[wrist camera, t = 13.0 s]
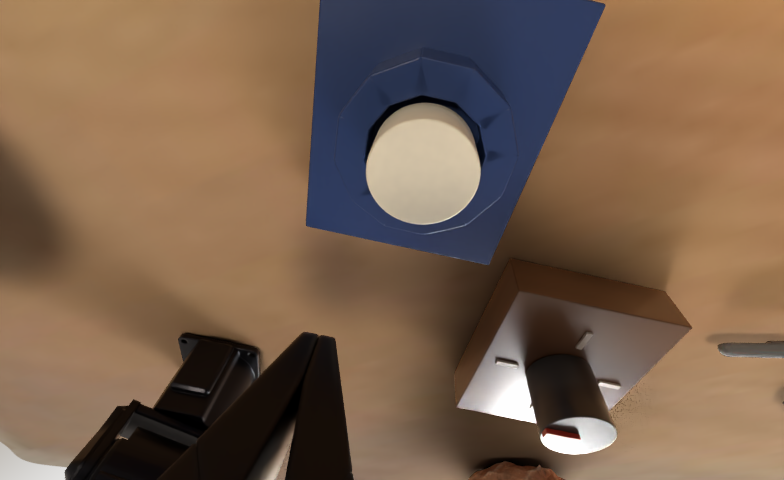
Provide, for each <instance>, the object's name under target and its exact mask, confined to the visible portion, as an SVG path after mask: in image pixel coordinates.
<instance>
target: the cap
mask: <svg viewBox="0 0 784 480" xmlns="http://www.w3.org/2000/svg"><path fill="white" fill-rule="evenodd" d="M480 175H481V167H480V160H479V156H478V152H477V148H476V144H475V140H474V137H473V134H472V132H471V130H470V128H469V126H468V125H467V123H466V122H465V121H464V120H463V118H462V117H461V116H459V115H458V114H457V113H456V112H454V111H453V110H451V109H449V108H447V107H445V106H442V105H439V104H434V103H416V104H412V105H408V106H405V107H403V108H401V109H399V110H397V111H396V112H394V113H393V114H392V115H390V116H389V117H388V118H387V119H386V120H385V122H384V123H383V124H382V126H381V127H380V129H379V131H378V133H377V135H376V138H375V140H374V143H373V145H372V148H371V150H370V153H369V155H368V159H367V163H366V179H367V184H368V187H369V190H370V192H371V194H372V196H373V198H374V199H375V201H376V202H377V203H378V205H379V206H380V207H381V208H382V209H383V210H384V211H385V212H387V213H388V214H390V215H391V216H393V217H395V218H397V219H399V220H401V221H404V222H408V223H412V224H423V225H424V224H434V223H438V222H442V221H445V220H447V219H449V218H451V217H453V216H455V215H456V214H458V213H459V212H461V211H462V210H463V209H464V208H465V207H466V206H467V205H468V204H469V202H470V201H471V200H472V198H473V197H474V195H475V193H476V191H477V189H478V185H479V182H480Z"/></svg>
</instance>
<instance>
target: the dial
mask: <svg viewBox="0 0 784 480" xmlns="http://www.w3.org/2000/svg"><path fill="white" fill-rule="evenodd" d="M526 381H527V385H528V389H529V394H530V398H531V402H532V407H533V411H534V415H535V420H536V424H537V428H538V432H539V437H540V440H541V442H542V443H543V444H544V445H545V446H546V447H547V448H549V449H551V450H553V451H556V452H560V453H566V454H585V453H591V452H595V451H599V450H601V449H604V448H606V447H608V446H609V445H611V444H612V443H613V442H614V441H615V439H616V437H617V429H616V427H615V425H614V422H613V420H612V417H611V415H610V412H609V410H608V407H607V405H606V403H605V400H604V398H603V395H602V393H601V390H600V388H599V385H598V383H597V381H596V378H595V376H594V373H593V371H592V368H591V366H590V365H589V364H588V363H587V362H586V361H585V360H583V359H582V358H579V357H577V356H573V355H564V354H560V355H552V356H547V357H544V358H541V359H539V360H537V361H536V362H534V363H533V364H532V365H531V366H530V367H529V368H528V370H527V372H526Z"/></svg>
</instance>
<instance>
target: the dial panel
mask: <svg viewBox="0 0 784 480" xmlns="http://www.w3.org/2000/svg"><path fill="white" fill-rule="evenodd" d="M691 329H692V326H691V325H690V324H689V322H688V321H687V320H686V318H685V317H684V316H683V315H682V313H681V312H680V311H679V309H678V308H677V307H676V305H675V304H674V303H673V301H672V300H671V299H670V297H669V296H668V295H667V293H666V292H665V291H660V290H656V289H651V288H647V287H642V286H637V285H633V284H628V283H623V282H619V281H614V280H609V279H605V278H600V277H595V276H591V275H586V274H581V273H577V272H572V271H568V270H563V269H558V268H554V267H549V266H544V265H540V264H535V263H530V262H526V261H521V260H516V259H512V258H510V259H509V261H508V263H507V266H506V268H505V270H504V272H503V274H502V276H501V278H500V280H499V282H498V284H497V286H496V288H495V290H494V292H493V294H492V296H491V298H490V300H489V302H488V305H487V307H486V309H485V311H484V313H483V315H482V317H481V319H480V321H479V323H478V325H477V327H476V329H475V331H474V333H473V335H472V337H471V339H470V341H469V343H468V346H467V348H466V350H465V352H464V354H463V356H462V358H461V360H460V362H459V364H458V366H457V368H456V370H455V372H454V377H455V398H456V407H457V408H462V409H467V410H472V411H477V412H482V413H487V414H492V415H497V416H502V417H507V418H512V419H517V420H522V421H527V422H532V423H536V420H535V415H534V411H533V407H532V402H531V398H530V394H529V389H528V385H527V381H526V372H527V370H528V368H529V367H530V366H531V365H532V364H533V363H534V362H536V361H537V360H539V359H541V358H544V357H547V356H552V355H560V354H564V355H573V356H577V357H579V358H582V359H583V360H585V361H586V362H587V363H588V364H589V365H590V366H591V368H592V371H593V373H594V376H595V378H596V381H597V383H598V385H599V388H600V390H601V393H602V395H603V398H604V400H605V403H606V405H607V407H608V410H610V409H611V408H612V407H613V406H614V405H615V404H616V403H617V402H618V401H619V400H620V399H621V398H622V397H623V396H624V395H625V394H626V393H627V392H628V391H629V390H630V389H631V388H632V387H633V386H634V385H635V384H636V383H637V382H638V381H640V380H641V379H642V378H643V377H644V376H645V375H646V374H647V373H648V372H649V371H650V370H651V369H652V368H653V367H654V366H655V365H656V364H657V363H658V362H659V361H660V360H661V359H662V358H663V357H664V356H665V355H666V354H667V353H668V352H669V351H670V350H671V349H672V348H673V347H674V346H675V345H676V344H677V343H678V342H679V341H680V340H681V339H682V338H683V337H684V336H685V335H686V334H687V333H688V332H689V331H690V330H691Z"/></svg>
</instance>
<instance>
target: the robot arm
mask: <svg viewBox="0 0 784 480" xmlns="http://www.w3.org/2000/svg"><path fill="white" fill-rule="evenodd" d="M178 341H179V346H180V350H181V354H182V358H183V364H182V365H181V367H180V368H179V370H178V371H177V373H176V374H175V375H174V377H173V378H172V380H171V381H170V383H169V384H168V386H167V387H166V389H165V390H164V392H163V393H162V395H161V396H160V398H159V399H158V401H157V402H156V404H155V405H154V407H153V408H149V407H147V406H144V405H142V404H140V403H141V402H139V401H136V400H134V399H133V401H132V402H131V403H130V405H129V406H117V407H116V409H115V410H114V411H113V413H112V414H111V415H110V417H109V418H108V419H107V421H106V422H105V423H104V425H103V426H102V427H101V428H100V430H99V431H98V432H97V433H96V434H95V435H94V437H93V438H92V439H91V440H90V441H89V442H88V444H87V445H86V446H85V447H84V448H83V449H82V451H81V452H80V453H79V454H78V455H77V456H76V457H75V459H74V460H73V461H72V462H71V463H70V465H69V466H68V467H67V469H66V470H65V478H66V480H276V478H277V475H278V473H279V470H280V468H281V465H282V463H283V460H284V458H285V455H286V453H287V450H288V448H289V445H290V443H291V440H292V444H291V450H290V455H289V461H288V466H287V472H286V477H285V480H354V478H353V474H352V464H351V457H350V449H349V441H348V433H347V426H346V418H345V410H344V403H343V395H342V387H341V379H340V372H339V364H338V356H337V349H336V341H335V338H333V337H329V336H324V335H321V336H318V335H317V334H314V333H309V332H303V333H301V334H300V335H299V336H298V337H297V338H296V339H295V340H294V341H293V342H292V343H291V345H290V346H289V347H288V348H287V349H286V350H285V351H284V352H283V353H282V354H281V355H280V356H279V357H278V358H277V359H276V360H275V361H274V362H273V363H272V364H271V365H270V366H269V367H268V368H267V369H266V370H265V371H264V372H263V373H262V374H261V375H260V352H259V350H258V349H257V348H254V347H249V346H245V345H240V344H235V343H230V342H225V341H220V340H215V339H210V338H205V337H200V336H195V335H191V334H182V335H181V336H180V337H179V339H178ZM120 436H122V437H125V438H127V439H128V440H126V439H124V438H122V439H119V438H120ZM292 438H293V439H292Z"/></svg>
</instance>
